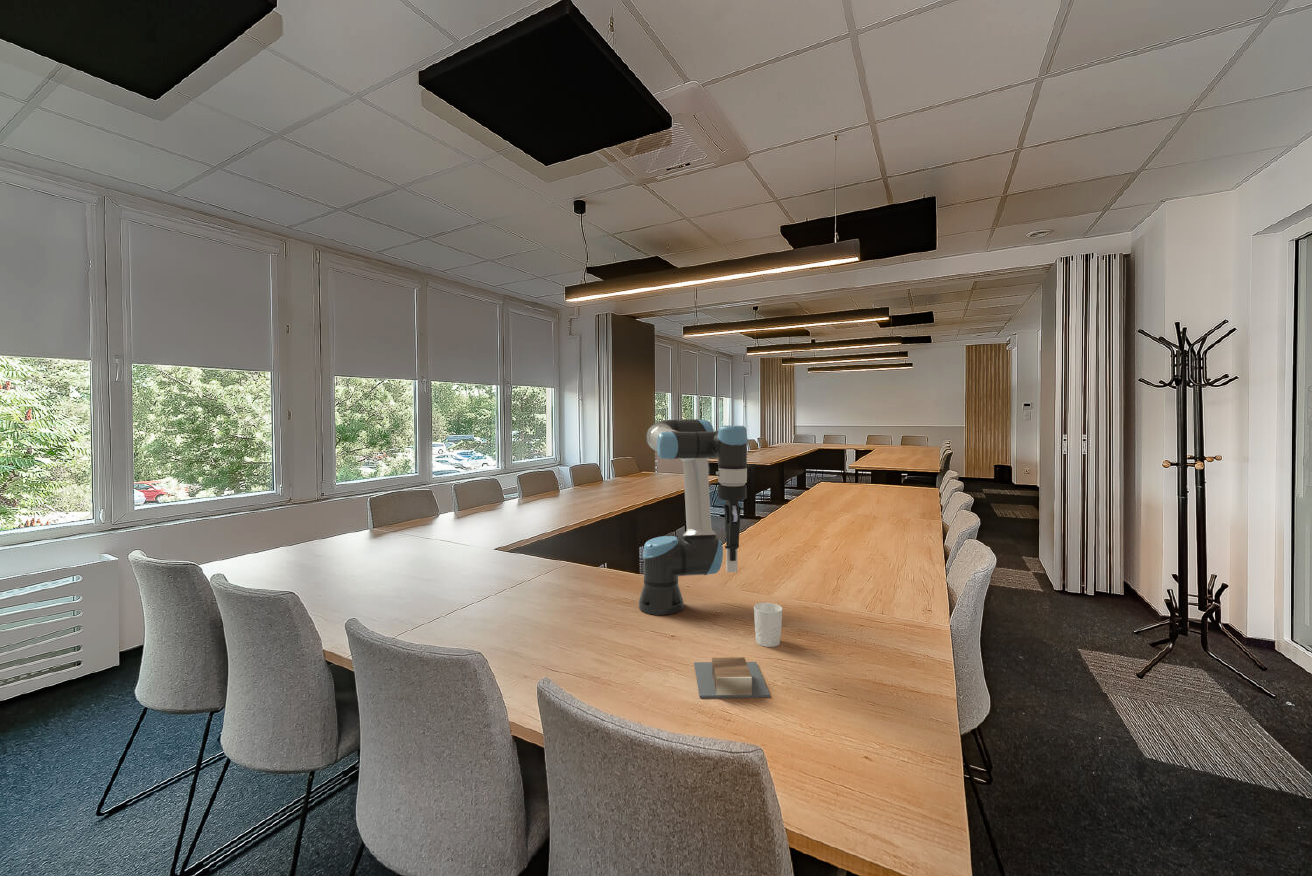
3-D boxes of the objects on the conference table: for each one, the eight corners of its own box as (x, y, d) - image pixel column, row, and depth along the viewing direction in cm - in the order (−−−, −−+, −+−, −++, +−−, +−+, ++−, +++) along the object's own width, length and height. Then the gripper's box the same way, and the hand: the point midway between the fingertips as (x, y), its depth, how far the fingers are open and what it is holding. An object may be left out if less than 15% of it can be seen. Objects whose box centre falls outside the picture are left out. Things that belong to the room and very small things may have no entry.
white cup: (761, 650, 140) (761, 614, 140) (749, 638, 148) (749, 604, 148) (787, 646, 142) (787, 611, 142) (773, 635, 150) (773, 601, 150)
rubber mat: (694, 664, 132) (694, 662, 132) (756, 664, 132) (756, 661, 132) (699, 698, 116) (699, 695, 116) (770, 697, 116) (770, 695, 116)
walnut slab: (712, 657, 126) (716, 678, 116) (744, 657, 126) (751, 677, 116) (712, 673, 126) (716, 695, 116) (744, 673, 126) (751, 695, 116)
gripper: (715, 480, 142) (715, 564, 143) (721, 487, 129) (720, 579, 130) (742, 480, 141) (741, 564, 143) (750, 487, 128) (750, 579, 130)
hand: (731, 571), depth 136 cm, fingers closed
